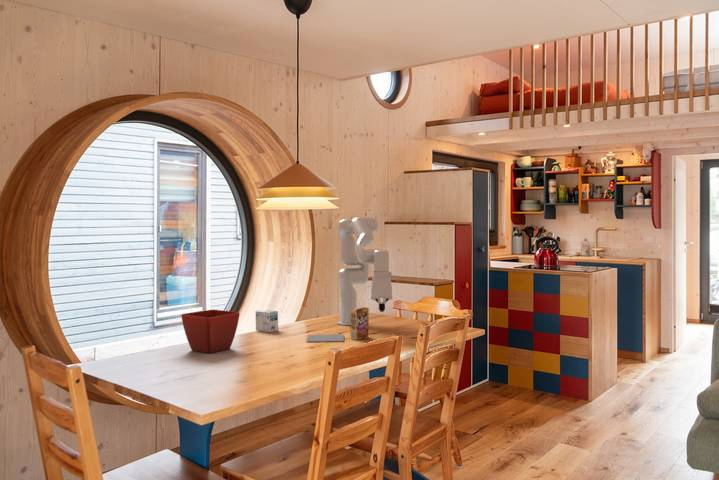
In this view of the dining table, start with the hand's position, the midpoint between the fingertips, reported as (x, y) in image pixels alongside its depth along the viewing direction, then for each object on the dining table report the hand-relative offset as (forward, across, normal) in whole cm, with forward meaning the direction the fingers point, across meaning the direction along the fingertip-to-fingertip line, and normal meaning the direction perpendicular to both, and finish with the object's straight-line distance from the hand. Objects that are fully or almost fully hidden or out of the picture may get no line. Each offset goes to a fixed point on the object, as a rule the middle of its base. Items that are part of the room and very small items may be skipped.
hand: (381, 311), depth 293 cm
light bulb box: (+13, +60, -24) cm, 66 cm away
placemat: (+13, +28, 0) cm, 31 cm away
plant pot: (+13, +80, +20) cm, 84 cm away
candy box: (+13, +11, 0) cm, 18 cm away
